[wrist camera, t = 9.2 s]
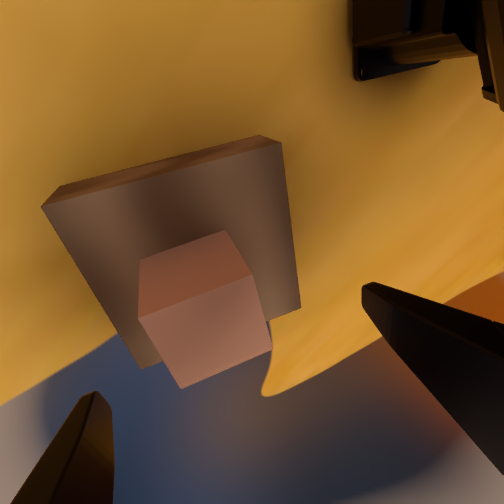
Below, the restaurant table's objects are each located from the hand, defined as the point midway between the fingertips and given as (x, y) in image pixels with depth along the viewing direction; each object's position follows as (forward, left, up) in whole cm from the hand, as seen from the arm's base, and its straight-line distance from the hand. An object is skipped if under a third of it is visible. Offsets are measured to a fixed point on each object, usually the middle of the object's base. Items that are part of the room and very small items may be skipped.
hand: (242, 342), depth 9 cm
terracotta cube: (+1, +3, -8) cm, 9 cm away
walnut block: (+1, +2, -12) cm, 13 cm away
